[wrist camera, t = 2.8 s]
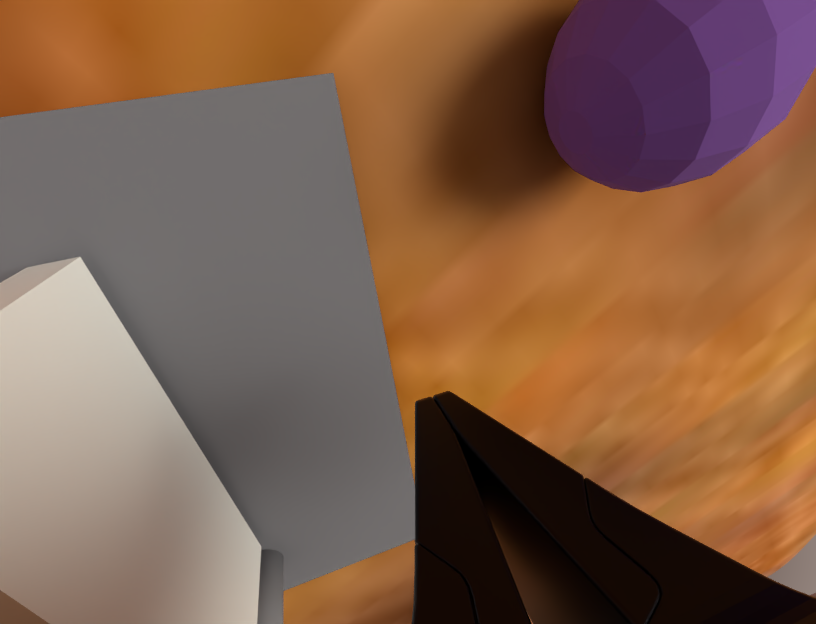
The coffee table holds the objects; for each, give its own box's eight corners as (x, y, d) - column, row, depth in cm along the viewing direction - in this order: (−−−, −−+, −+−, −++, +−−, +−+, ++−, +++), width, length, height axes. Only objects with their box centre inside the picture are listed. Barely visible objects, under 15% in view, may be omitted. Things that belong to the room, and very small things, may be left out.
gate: (265, 544, 16) (254, 807, 10) (228, 558, 16) (193, 837, 10) (88, 255, 9) (-301, 527, 3) (18, 269, 9) (-572, 602, 3)
